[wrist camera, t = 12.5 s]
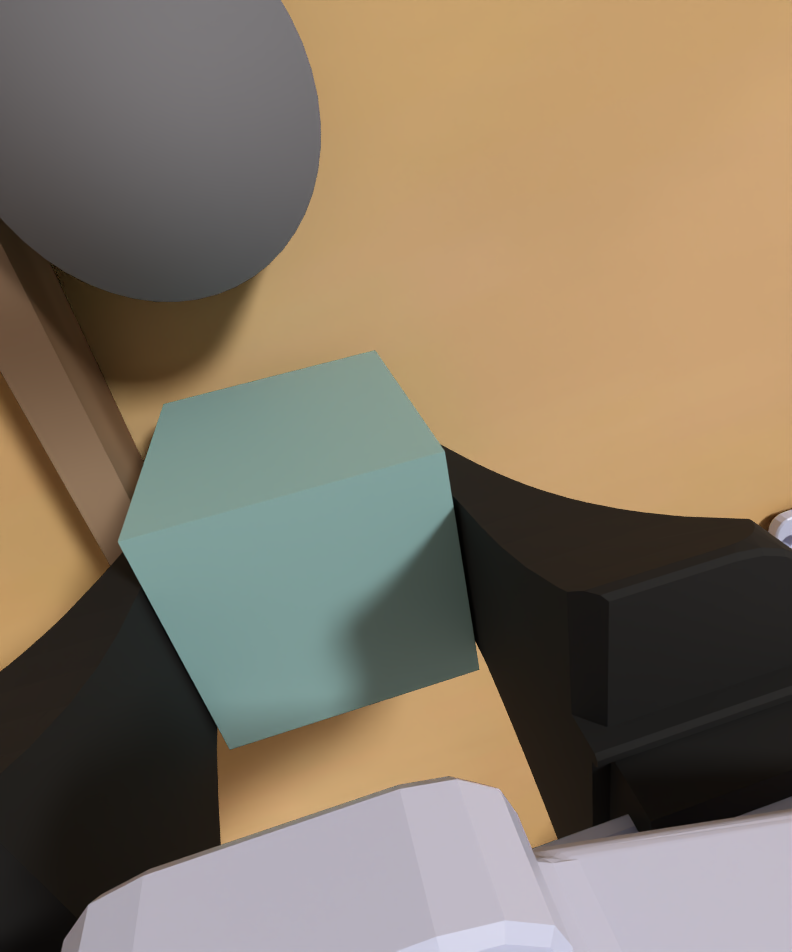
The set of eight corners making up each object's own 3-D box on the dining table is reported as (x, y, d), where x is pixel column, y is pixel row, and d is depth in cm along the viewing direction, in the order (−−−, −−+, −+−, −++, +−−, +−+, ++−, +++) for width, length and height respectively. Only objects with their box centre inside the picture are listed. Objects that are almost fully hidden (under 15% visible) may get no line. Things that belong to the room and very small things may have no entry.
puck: (325, 248, 12) (346, 271, 10) (82, 291, 12) (37, 328, 9) (268, -62, 10) (277, -141, 7) (-45, -29, 9) (-158, -101, 7)
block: (410, 520, 15) (479, 669, 10) (234, 571, 14) (230, 750, 10) (375, 350, 12) (444, 450, 8) (163, 404, 12) (117, 541, 8)
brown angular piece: (456, 554, 17) (477, 594, 15) (184, 635, 16) (178, 685, 15) (307, -363, 8) (321, -481, 7) (-299, -292, 7) (-439, -408, 6)
